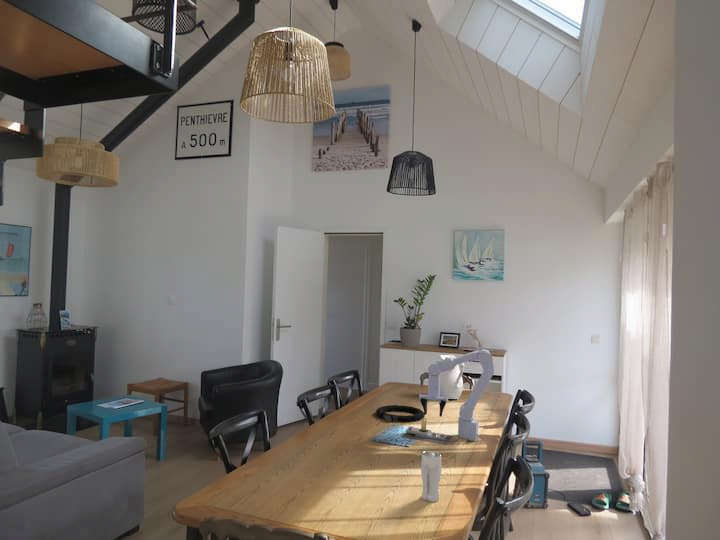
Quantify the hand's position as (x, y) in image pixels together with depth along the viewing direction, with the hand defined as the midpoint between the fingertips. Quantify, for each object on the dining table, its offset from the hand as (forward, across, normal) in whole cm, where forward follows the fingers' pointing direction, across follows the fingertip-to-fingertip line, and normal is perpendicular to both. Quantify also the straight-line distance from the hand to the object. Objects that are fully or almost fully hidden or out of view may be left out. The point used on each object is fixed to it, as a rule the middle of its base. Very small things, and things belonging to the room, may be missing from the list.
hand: (433, 415), depth 254 cm
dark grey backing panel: (+10, 0, -8) cm, 12 cm away
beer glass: (+10, +20, -76) cm, 79 cm away
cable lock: (+10, -26, +25) cm, 38 cm away
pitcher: (+10, -10, +87) cm, 88 cm away
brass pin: (+8, -2, -8) cm, 12 cm away
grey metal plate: (+9, -1, -8) cm, 12 cm away
